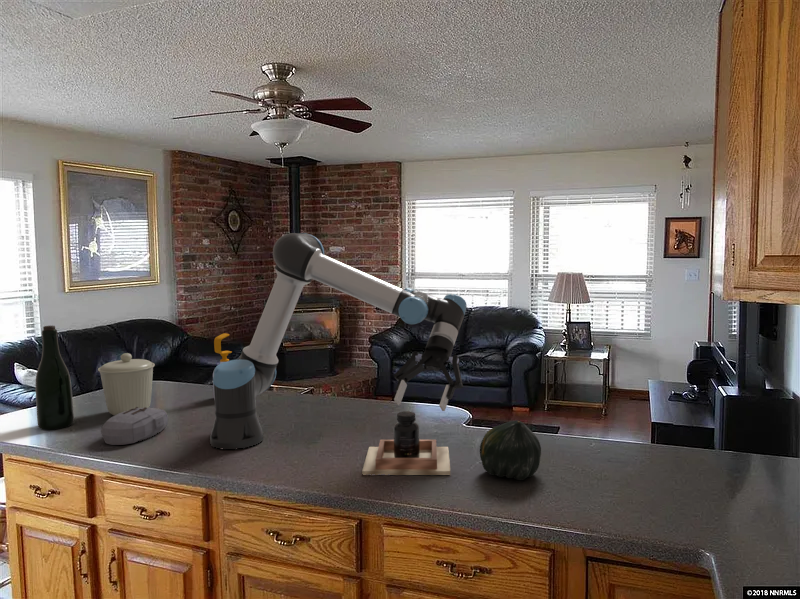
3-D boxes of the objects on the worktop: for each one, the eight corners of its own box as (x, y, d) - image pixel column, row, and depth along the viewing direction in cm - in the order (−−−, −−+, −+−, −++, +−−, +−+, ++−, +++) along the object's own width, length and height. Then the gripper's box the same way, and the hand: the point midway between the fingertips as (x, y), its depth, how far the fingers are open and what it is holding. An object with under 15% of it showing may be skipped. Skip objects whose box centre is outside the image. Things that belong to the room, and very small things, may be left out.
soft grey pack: (135, 425, 199) (89, 445, 180) (134, 400, 198) (87, 418, 179) (175, 428, 195) (132, 449, 176) (174, 403, 194) (130, 421, 175)
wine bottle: (55, 432, 193) (47, 328, 190) (30, 429, 197) (22, 327, 194) (81, 422, 203) (75, 324, 200) (57, 420, 207) (50, 323, 203)
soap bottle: (243, 397, 232) (240, 333, 229) (221, 402, 225) (218, 336, 223) (230, 394, 238) (227, 331, 236) (209, 398, 231) (206, 334, 229)
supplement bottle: (392, 453, 165) (392, 410, 163) (418, 452, 165) (417, 409, 164) (395, 463, 158) (394, 417, 157) (421, 462, 158) (420, 416, 157)
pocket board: (362, 475, 153) (361, 461, 153) (369, 450, 171) (369, 438, 171) (450, 475, 152) (450, 461, 152) (448, 450, 170) (448, 437, 169)
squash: (476, 440, 162) (482, 409, 151) (533, 442, 161) (543, 411, 150) (479, 491, 152) (485, 462, 141) (539, 493, 152) (550, 464, 141)
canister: (139, 403, 227) (135, 347, 225) (167, 410, 216) (164, 351, 214) (90, 415, 212) (86, 355, 210) (118, 423, 201) (115, 360, 199)
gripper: (485, 352, 173) (465, 418, 162) (407, 346, 185) (383, 407, 173) (478, 336, 168) (457, 403, 156) (399, 331, 180) (373, 393, 168)
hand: (418, 405), depth 165 cm, fingers open, 13 cm apart
